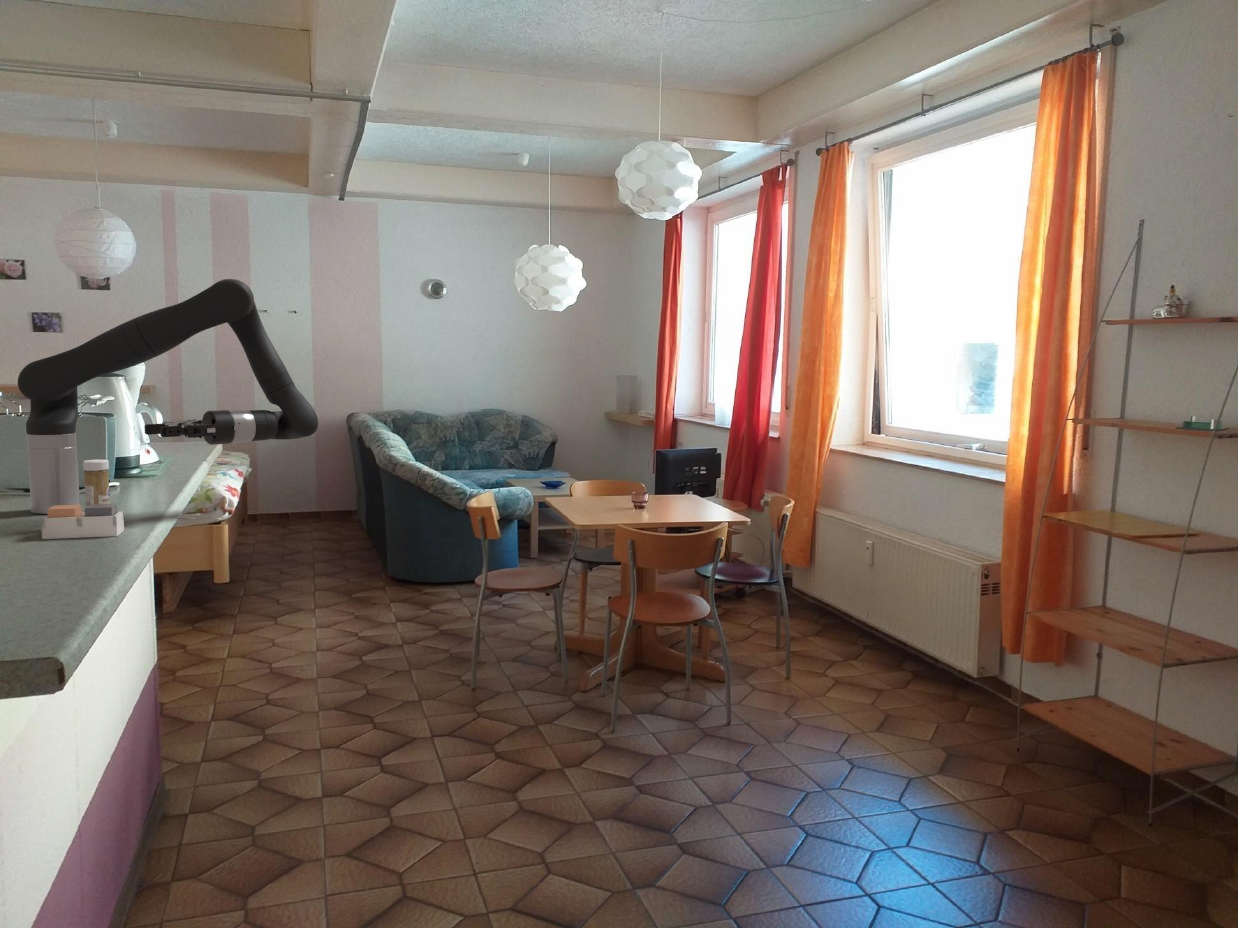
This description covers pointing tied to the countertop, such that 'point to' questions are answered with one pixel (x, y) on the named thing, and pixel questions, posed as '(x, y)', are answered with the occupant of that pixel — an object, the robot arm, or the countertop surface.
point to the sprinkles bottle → (96, 482)
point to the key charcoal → (101, 510)
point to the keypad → (82, 526)
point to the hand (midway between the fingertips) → (152, 430)
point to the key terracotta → (64, 511)
